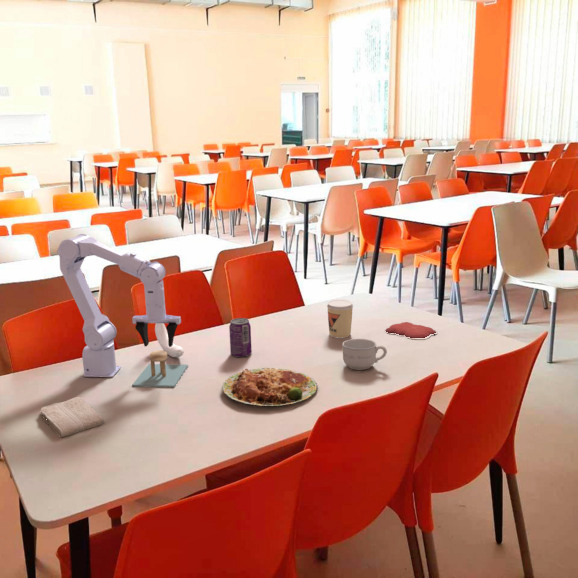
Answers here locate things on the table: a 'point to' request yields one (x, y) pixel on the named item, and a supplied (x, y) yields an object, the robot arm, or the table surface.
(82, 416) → the washcloth
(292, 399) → the rice dish
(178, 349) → the banana
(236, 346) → the beverage can
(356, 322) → the table surface
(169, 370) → the mat
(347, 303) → the coffee cup
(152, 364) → the tan piece
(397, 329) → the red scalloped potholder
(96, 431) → the table surface
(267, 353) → the table surface
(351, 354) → the teacup
